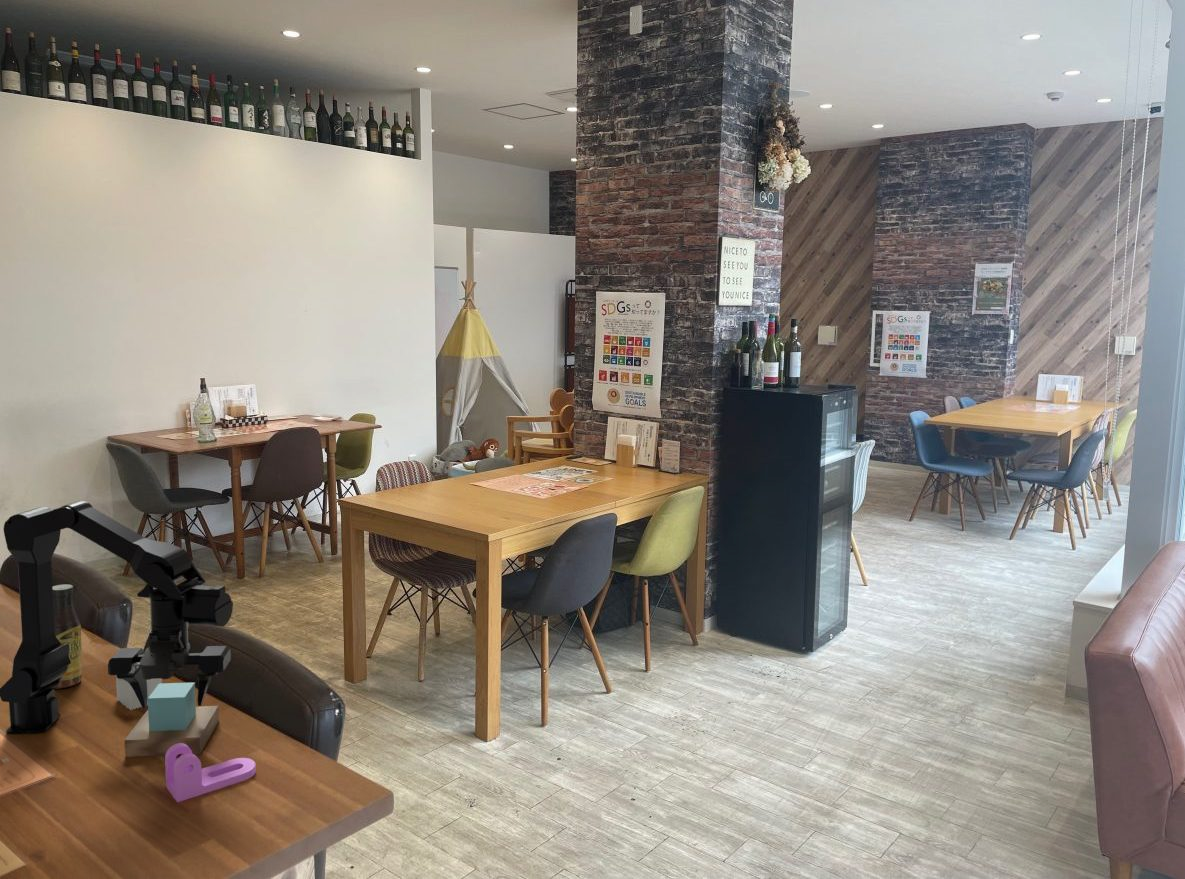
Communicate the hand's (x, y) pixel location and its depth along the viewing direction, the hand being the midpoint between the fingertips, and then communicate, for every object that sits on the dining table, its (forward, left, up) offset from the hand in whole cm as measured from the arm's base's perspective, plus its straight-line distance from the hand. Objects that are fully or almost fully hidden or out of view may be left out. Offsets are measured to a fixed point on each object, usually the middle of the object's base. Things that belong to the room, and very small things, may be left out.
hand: (172, 706), depth 156 cm
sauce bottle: (-28, +25, -6) cm, 38 cm away
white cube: (-11, +16, -6) cm, 20 cm away
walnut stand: (0, 0, -6) cm, 6 cm away
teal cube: (0, 0, -3) cm, 3 cm away
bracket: (+11, -15, -6) cm, 20 cm away
